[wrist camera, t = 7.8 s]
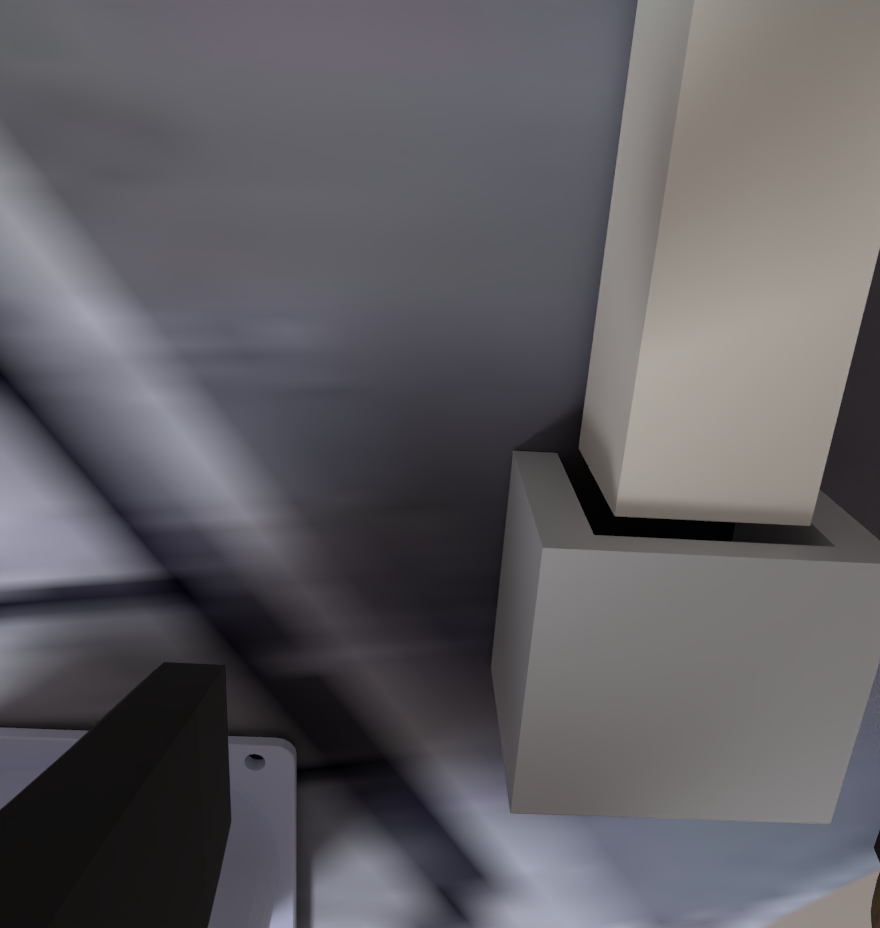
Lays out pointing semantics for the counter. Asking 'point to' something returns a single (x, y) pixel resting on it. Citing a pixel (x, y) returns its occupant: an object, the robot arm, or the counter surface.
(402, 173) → the counter surface
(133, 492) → the counter surface
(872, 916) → the potato
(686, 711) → the sleeve
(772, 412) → the white bar teal band
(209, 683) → the robot arm
